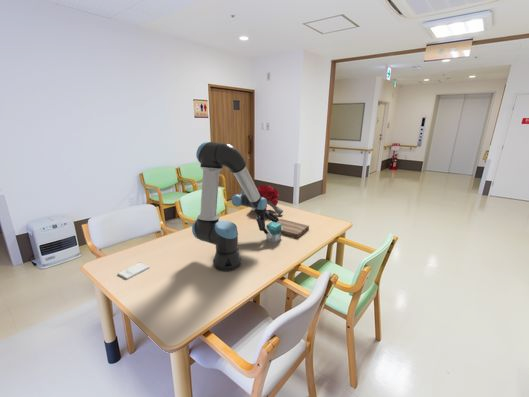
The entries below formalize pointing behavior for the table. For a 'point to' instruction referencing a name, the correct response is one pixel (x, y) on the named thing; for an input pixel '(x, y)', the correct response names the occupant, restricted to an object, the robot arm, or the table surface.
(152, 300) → the table surface
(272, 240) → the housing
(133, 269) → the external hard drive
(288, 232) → the walnut stand
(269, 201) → the bouquet
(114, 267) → the table surface
